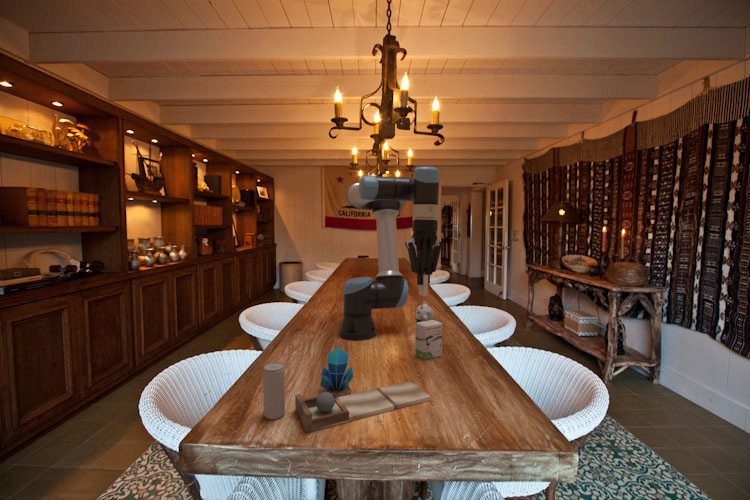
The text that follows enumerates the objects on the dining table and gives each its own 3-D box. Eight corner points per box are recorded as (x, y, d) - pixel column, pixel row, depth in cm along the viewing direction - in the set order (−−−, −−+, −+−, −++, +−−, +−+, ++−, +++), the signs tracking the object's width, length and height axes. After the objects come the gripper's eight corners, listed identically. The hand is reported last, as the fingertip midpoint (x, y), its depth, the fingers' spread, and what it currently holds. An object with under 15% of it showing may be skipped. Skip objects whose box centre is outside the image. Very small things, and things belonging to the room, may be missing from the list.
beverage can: (266, 409, 85) (265, 362, 85) (286, 409, 86) (286, 361, 85) (261, 421, 81) (261, 370, 80) (282, 420, 81) (282, 370, 80)
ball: (328, 387, 87) (328, 404, 88) (312, 392, 85) (312, 409, 85) (338, 393, 84) (338, 412, 84) (321, 399, 81) (321, 418, 81)
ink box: (423, 360, 118) (424, 326, 117) (414, 355, 122) (415, 322, 121) (442, 355, 122) (443, 322, 121) (432, 351, 126) (433, 319, 126)
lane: (295, 410, 85) (295, 394, 85) (409, 384, 100) (410, 370, 100) (306, 432, 76) (306, 415, 76) (430, 400, 91) (430, 385, 91)
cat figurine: (420, 297, 173) (426, 300, 158) (434, 306, 173) (441, 310, 158) (410, 314, 173) (415, 319, 158) (424, 322, 173) (430, 328, 158)
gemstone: (323, 386, 98) (323, 344, 97) (353, 387, 98) (354, 345, 97) (317, 399, 91) (317, 354, 90) (351, 400, 91) (351, 355, 90)
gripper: (413, 218, 100) (411, 299, 102) (450, 219, 106) (447, 295, 108) (400, 218, 107) (399, 294, 109) (435, 219, 113) (433, 291, 115)
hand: (423, 294), depth 109 cm, fingers closed
